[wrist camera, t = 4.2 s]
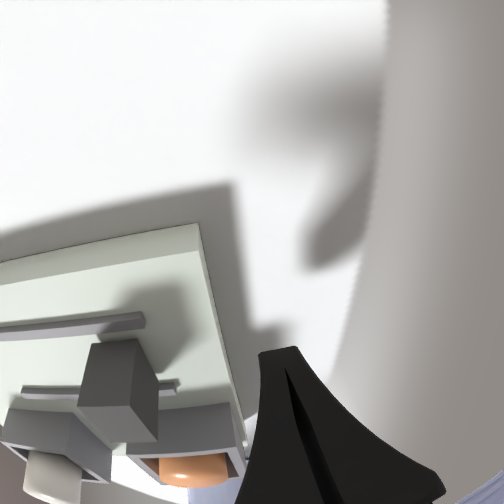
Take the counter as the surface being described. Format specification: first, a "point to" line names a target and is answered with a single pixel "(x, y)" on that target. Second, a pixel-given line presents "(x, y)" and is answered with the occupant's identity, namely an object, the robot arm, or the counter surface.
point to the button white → (52, 478)
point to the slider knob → (120, 392)
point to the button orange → (194, 470)
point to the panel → (114, 329)
